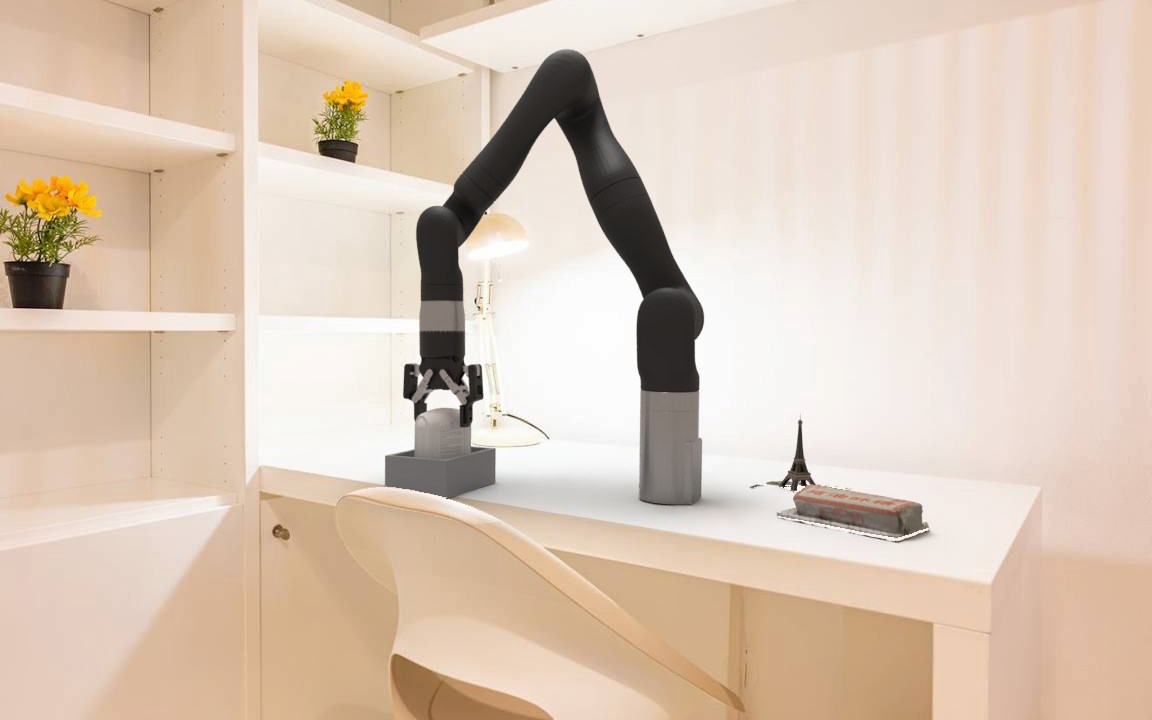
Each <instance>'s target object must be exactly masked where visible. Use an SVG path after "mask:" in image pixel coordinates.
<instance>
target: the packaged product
mask: <svg viewBox="0 0 1152 720" xmlns="http://www.w3.org/2000/svg"><path fill="white" fill-rule="evenodd" d="M809 484H810V483H809ZM821 485H822V484H817V485H812V484H810V485H807V486H805V488H803V489H802V490H801V491H799V492H795V494H794V495H793V498H792V500H793V502H794V505H795V507H792V508H788V509H785V510H781V511H780V512H776V517H777V516H781V517H786V518H791V519H798V520H804V521H809V522H814V523H820V524H825V525H830V526H834V527H840V528H845V529H850V530H855V531H859V532H864V533H870V534H876V535H882V536H888V537H894V538H898V537H902V536H905V535H909V534H912V533H914V532H917V531H919V530H923V529H926V528H929V529H930V527H929V523H928V522H927V521H923V512H924V511H923V505H922V503H920V502H917V501H911V500H906V499H899V498H894V497H888V496H883V495H878V494H872V493H871V494H870V493H866V492H859V491H853V490H843V489H837V488H832V487H827V486H828V485H825V486H821Z"/></svg>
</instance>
